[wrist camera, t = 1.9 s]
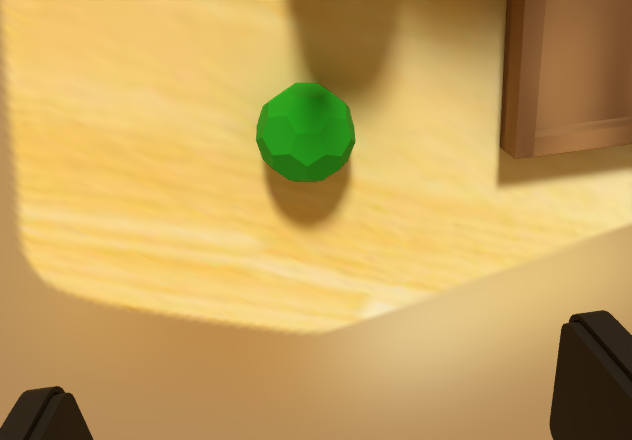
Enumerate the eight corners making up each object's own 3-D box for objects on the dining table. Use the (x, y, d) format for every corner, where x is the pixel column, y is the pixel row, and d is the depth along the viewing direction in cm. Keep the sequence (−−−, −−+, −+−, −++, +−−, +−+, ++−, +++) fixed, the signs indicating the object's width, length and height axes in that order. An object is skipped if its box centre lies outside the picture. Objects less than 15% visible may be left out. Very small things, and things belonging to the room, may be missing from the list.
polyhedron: (246, 90, 27) (239, 113, 22) (335, 62, 26) (345, 81, 22) (276, 173, 29) (274, 209, 25) (358, 149, 28) (370, 181, 24)
